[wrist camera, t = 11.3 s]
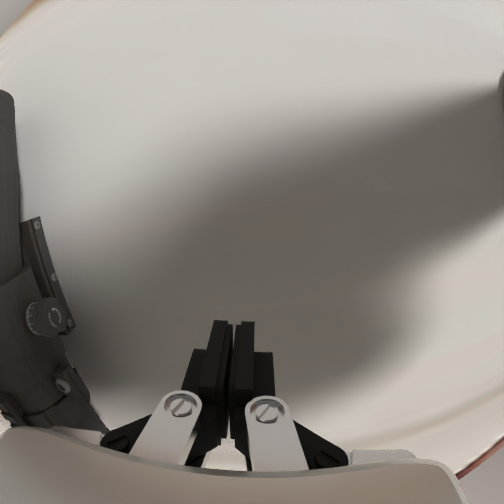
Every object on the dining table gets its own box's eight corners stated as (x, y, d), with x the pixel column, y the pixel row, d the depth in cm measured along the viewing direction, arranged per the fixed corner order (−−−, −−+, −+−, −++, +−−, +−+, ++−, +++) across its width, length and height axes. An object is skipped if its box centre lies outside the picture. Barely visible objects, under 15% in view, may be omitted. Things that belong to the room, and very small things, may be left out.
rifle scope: (71, 407, 20) (31, 476, 11) (-21, 146, 13) (-107, 158, 3) (158, 416, 20) (130, 512, 10) (61, 89, 13) (-54, 63, 3)
